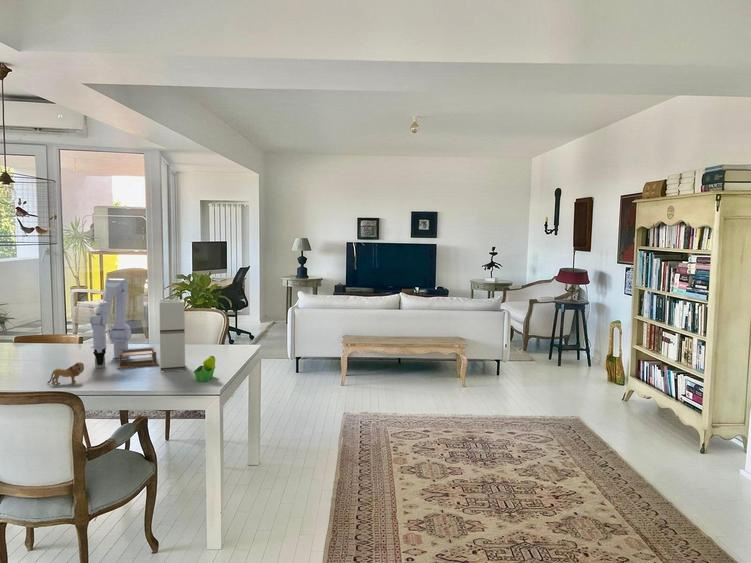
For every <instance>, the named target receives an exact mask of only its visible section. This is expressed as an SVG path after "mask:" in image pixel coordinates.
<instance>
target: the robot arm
mask: <svg viewBox="0 0 751 563" xmlns="http://www.w3.org/2000/svg"><path fill="white" fill-rule="evenodd" d="M129 285H130V284H129V281H128V279H127V278H107V279H106V281H105V289H106V291H105V293H104V297H103V299H102V301H101V302H99V303H98V307H97V308H96V311H95V313H94V314H93V315H91V317H90V320H89V323H90V325H91V326H90V327H91V330H92V338H93V339H92V342H93V344H92V345H91V346H90V349H93V355H94V358H95V357H96V360H97V364H98V365H102V364H103V359H104V356H106V355H105V354H106V353H107V351H106V350H107V337H106V336H107V334H106V332H107V330H106V325H107V324H108V322H109V314H110V312H111V309H112V305H111V303H112V301H113V299H114V297H115V322H114V324H113V325H112V326H111V327H110V331H109V338H110V340H111V341H112V342H113V354H112V358H113V359H119V350H122V359H125V358H130V356H125V357H123V349H129V341H130V340H131V339H132V335H133V334H132V330H131V329H132V328H131V326H130V325H129V324H127V323H126V320H127V294H128V293H129V290H130V286H129Z"/></svg>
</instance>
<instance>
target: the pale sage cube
mask: <svg viewBox="0 0 751 563" xmlns="http://www.w3.org/2000/svg"><path fill="white" fill-rule="evenodd" d="M95 367H100V368H106V355H104V359H103V364H102V365H98V364H97V360H96V357H95V356H94V368H95Z"/></svg>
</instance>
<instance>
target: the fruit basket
mask: <svg viewBox="0 0 751 563" xmlns="http://www.w3.org/2000/svg"><path fill="white" fill-rule="evenodd" d="M202 364H203V365H198V367H197V368H196V369H195V370H194V371H193V374H194V376H195V380H196V382H209V380H211V379H210V378H213V377H214V372H215V368H216V357H215V356H214V355H210V356H208V358H206V359H205V360H203V362H202Z"/></svg>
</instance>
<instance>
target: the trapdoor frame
mask: <svg viewBox="0 0 751 563" xmlns="http://www.w3.org/2000/svg"><path fill="white" fill-rule="evenodd" d="M151 347H152V346H151ZM152 352H153V354H151V356H146V357H134V358H122V350H119V358H118V359H117V361H116V363H117V365H116V366H117V370H124V369H125V370H126V369H136V367H138V368H146V367H145V366H149V367H155V366H154V365H159V366H160V362H159V361H158V358H157V350H156V349H155V347H154V346H153V347H152Z"/></svg>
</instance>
